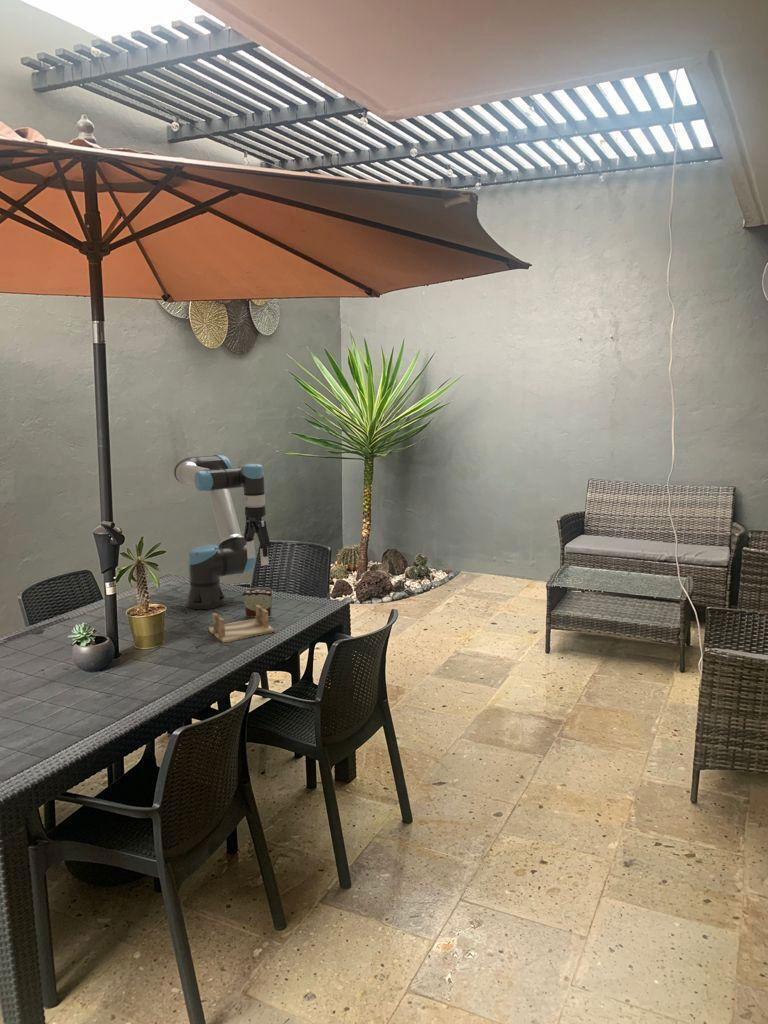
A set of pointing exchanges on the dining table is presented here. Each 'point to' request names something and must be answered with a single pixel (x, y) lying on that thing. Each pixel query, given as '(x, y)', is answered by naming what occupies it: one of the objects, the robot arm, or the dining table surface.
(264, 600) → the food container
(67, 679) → the dining table surface
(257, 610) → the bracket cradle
